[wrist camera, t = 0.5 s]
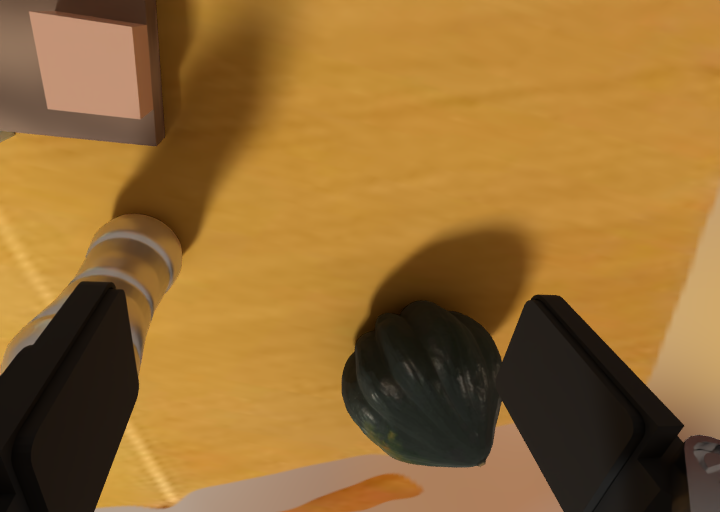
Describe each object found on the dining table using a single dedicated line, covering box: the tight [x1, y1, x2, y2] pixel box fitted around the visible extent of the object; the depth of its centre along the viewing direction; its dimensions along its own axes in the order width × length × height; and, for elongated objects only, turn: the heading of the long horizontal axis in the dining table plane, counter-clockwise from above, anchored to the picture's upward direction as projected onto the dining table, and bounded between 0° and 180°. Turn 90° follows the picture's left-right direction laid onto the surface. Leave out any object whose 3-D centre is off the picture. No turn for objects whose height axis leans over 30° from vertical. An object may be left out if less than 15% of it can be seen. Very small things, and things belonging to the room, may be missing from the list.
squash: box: [342, 301, 502, 467], centre depth 41 cm, size 14×15×15 cm
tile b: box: [29, 11, 153, 119], centre depth 26 cm, size 5×5×3 cm
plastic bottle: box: [0, 214, 182, 376], centre depth 27 cm, size 6×7×20 cm
